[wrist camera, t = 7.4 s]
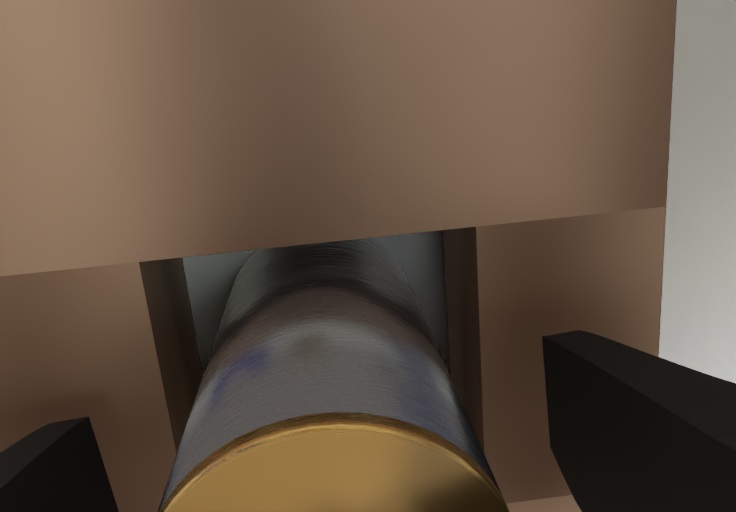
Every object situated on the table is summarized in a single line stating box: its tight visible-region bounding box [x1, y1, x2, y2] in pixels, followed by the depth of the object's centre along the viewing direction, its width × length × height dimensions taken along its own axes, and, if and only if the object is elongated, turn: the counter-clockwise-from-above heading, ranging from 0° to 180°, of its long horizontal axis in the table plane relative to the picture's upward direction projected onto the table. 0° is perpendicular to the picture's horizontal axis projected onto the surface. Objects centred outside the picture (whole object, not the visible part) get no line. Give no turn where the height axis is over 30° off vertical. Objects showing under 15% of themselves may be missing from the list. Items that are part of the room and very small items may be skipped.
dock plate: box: [0, 0, 677, 512], centre depth 13 cm, size 12×14×3 cm
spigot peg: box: [158, 238, 510, 512], centre depth 10 cm, size 4×4×8 cm
